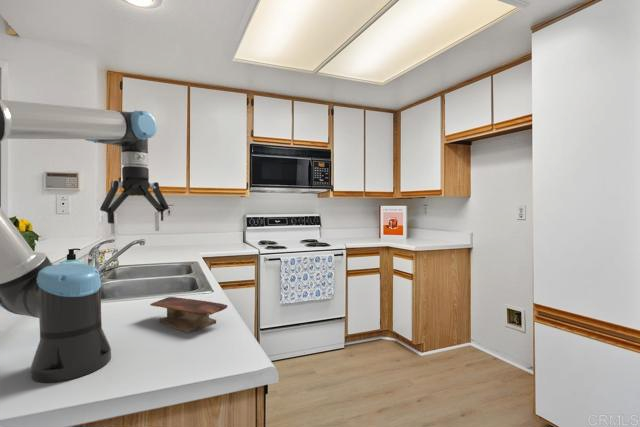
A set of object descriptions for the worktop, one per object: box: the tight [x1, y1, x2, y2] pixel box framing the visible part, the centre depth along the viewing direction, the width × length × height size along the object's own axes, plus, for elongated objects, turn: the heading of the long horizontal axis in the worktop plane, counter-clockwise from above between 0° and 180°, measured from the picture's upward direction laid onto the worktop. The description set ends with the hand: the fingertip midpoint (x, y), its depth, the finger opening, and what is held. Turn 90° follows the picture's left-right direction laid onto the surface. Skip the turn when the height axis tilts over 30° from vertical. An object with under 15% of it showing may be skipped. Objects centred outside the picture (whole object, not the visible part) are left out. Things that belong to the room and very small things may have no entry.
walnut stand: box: [159, 308, 217, 334], centre depth 108 cm, size 10×16×5 cm, turn 52°
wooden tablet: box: [149, 296, 228, 316], centre depth 107 cm, size 26×2×10 cm
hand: (137, 232), depth 110 cm, fingers open, 13 cm apart
